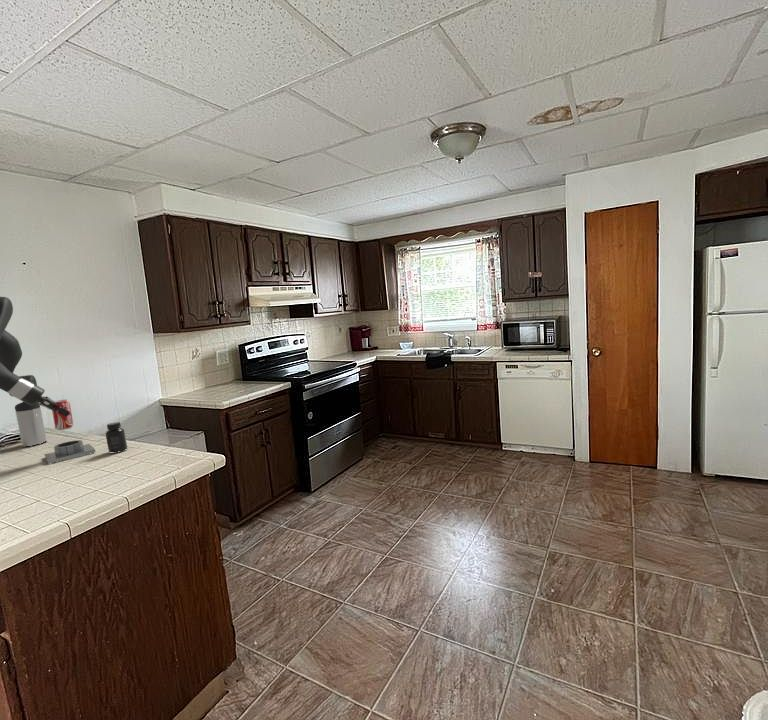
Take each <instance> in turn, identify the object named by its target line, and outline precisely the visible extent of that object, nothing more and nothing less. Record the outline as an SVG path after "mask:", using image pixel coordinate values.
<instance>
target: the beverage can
mask: <svg viewBox="0 0 768 720" xmlns="http://www.w3.org/2000/svg"><path fill="white" fill-rule="evenodd" d="M53 401H54V402H56V403H57V405H59V406H61V407H62V408H64V409H65V410H67V411H69V412H70V414H69V415H68V416H67V417H66V416H64V415H62V414H60V413H58V412H55V411H53V410H51V412H52V418H53V423H54V429H55V430H57V431H64V430H69V429H71V428H72V427H74V419H73V415H72V414H73V413H72V408H71V403H70V401H68V399H59V400H53ZM56 407H57V406H55V407H54V409H55V408H56Z"/></svg>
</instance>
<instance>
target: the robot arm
mask: <svg viewBox="0 0 768 720" xmlns="http://www.w3.org/2000/svg"><path fill="white" fill-rule="evenodd" d="M13 313H14V307H13V303H12V300H11V299H10V298H9V297H7V296H0V390H1V391H4V392H6V393H7V394H8V395H9V396H10V397H14V398H16V399H18V400H20V401H21V402H19V403H17V404H15V405H14V410H15V416H16V421H17V425H18V429H19V436H20V439H21V445H22V447H23V446H30V445H36V444H40V443H43V442H45V441H47V442H48V440H47V436H46V435H47V434H46V430H45V424H44V419H43V413H42V409H41V407H43V408H46V409H48V410H49V411H52V410H53V411H55V412H58V413H60V414H62V415H64V416H66V417H67V416H68V415H69V414H70V412H69V411H67V410H65V409H64V408H62V407H61V406H59V405H57V403H56V402H54V401H55V400H53V399H52V398H50V397H49V396H47V395H46V396H43V395H44V393H45V391H46V390H45V389H44V388H42V387H40V386H38V384H37V378H36V376H34V375H32V374H28V375H20V376H19V375H18V374H15V373H14V371H15V369H16V367H17V366H18V364H19V363H20V361H21V359H22V357H23V351H22V348H21V344H20V342H19V340H18V339H17V338H16V337H15V336H14V335H12V333H10V332H9V331H7V330H6V328H7V326H8V324H9V322H10V320H11V319H12V316H13ZM55 406H57V407H56V408H55V409H54V407H55ZM43 444H44V443H43ZM40 445H41V444H40ZM36 446H37V445H36Z"/></svg>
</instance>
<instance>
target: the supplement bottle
mask: <svg viewBox="0 0 768 720" xmlns="http://www.w3.org/2000/svg"><path fill="white" fill-rule="evenodd" d="M106 428H107V430H106V432H105V438H106V439H105V440H106V445H107V450H108V453H109V452H118V451H123V450H125V449H127V450H128V444H127V439H126V437H127V436H126V432H125V428H122V425H121V421H118V422H117V421H116V422H112V423H110V422H109V423H107V424H106ZM125 451H126V450H125ZM123 452H124V451H123Z"/></svg>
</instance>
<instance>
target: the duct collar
mask: <svg viewBox="0 0 768 720" xmlns="http://www.w3.org/2000/svg"><path fill="white" fill-rule="evenodd" d="M53 449H54V451H53V452H49V453H44V459H45V458H46V459H45V461H46V460H47V461H46V463H47V462H48V463H47V465H48V464H49V465H51V464H50V463H53V464H55V463H54V462H57V461H61V462H63V461H62V460H65V461H67V460H66V459H69V460H72V459H71V458H73V459H76V458H75V457H77V458H80V457H79V456H81V457H84V456H83V455H85V456H87V455H86V454H89V455H91V454H90V453H93V454H95V453H94V452H96V449H95V448H94V447H93V446H92V445H91V444H90V443H87V444H86V443H85V444H84V443H83V440H81V439H80V440H79V439H77V440H71V441H70V440H69V441H64V442H61V443H58V444H56V445H54V446H53ZM57 463H58V462H57Z"/></svg>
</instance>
